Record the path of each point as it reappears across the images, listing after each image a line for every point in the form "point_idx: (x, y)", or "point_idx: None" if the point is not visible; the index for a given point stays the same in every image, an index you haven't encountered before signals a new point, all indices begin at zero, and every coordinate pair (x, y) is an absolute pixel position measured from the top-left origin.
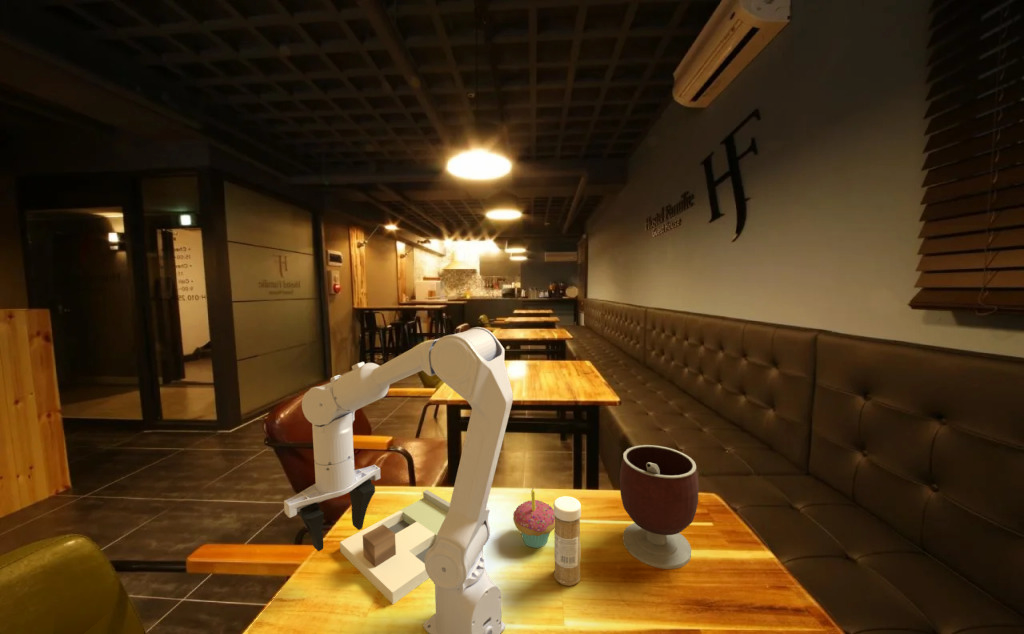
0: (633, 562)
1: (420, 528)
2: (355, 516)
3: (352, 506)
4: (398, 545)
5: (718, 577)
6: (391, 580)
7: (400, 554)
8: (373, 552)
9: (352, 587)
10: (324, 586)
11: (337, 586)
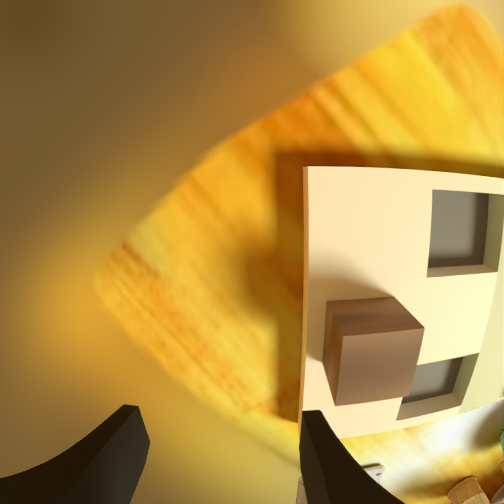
0: (495, 489)
1: (482, 308)
2: (308, 467)
3: (320, 477)
4: None
5: None
6: None
7: None
8: (330, 383)
9: (261, 331)
10: (209, 274)
11: (234, 300)
